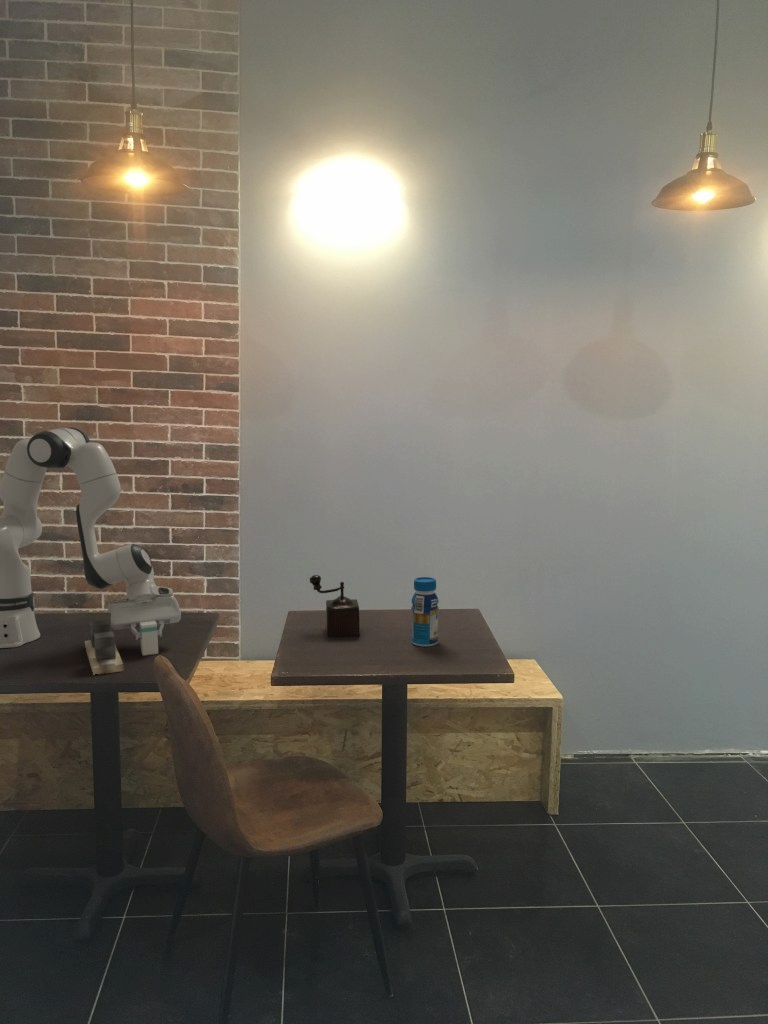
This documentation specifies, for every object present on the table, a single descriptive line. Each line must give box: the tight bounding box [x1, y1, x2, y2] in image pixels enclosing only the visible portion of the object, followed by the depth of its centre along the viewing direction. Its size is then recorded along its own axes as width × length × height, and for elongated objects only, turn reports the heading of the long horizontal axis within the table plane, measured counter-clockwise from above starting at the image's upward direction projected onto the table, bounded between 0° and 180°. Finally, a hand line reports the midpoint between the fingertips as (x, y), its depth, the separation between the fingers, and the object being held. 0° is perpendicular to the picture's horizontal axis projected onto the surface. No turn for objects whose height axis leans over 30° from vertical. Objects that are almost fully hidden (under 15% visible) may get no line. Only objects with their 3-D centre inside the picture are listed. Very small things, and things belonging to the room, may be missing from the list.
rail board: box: [84, 619, 125, 676], centre depth 238 cm, size 8×26×9 cm, turn 24°
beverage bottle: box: [410, 576, 440, 647], centre depth 250 cm, size 8×8×20 cm
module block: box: [139, 621, 159, 657], centre depth 243 cm, size 4×4×9 cm
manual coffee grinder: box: [309, 574, 361, 638], centre depth 262 cm, size 16×11×18 cm
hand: (149, 637), depth 242 cm, fingers closed on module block, 4 cm apart
